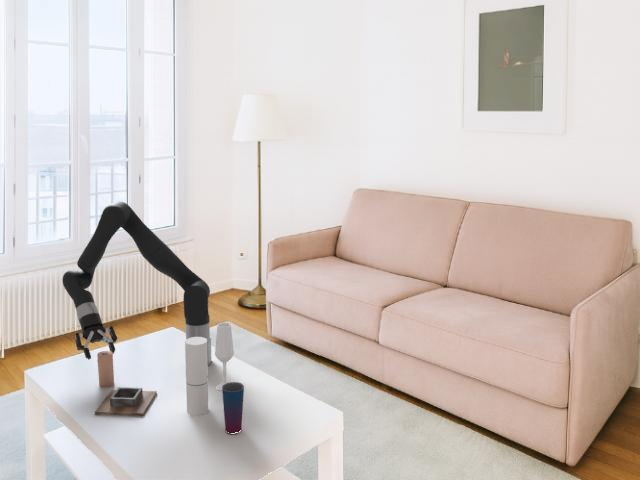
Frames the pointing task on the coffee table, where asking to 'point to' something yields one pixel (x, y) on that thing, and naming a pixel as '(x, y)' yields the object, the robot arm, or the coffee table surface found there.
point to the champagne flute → (224, 347)
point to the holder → (126, 402)
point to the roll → (105, 369)
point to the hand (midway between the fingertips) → (101, 355)
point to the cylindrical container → (196, 375)
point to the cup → (233, 406)
